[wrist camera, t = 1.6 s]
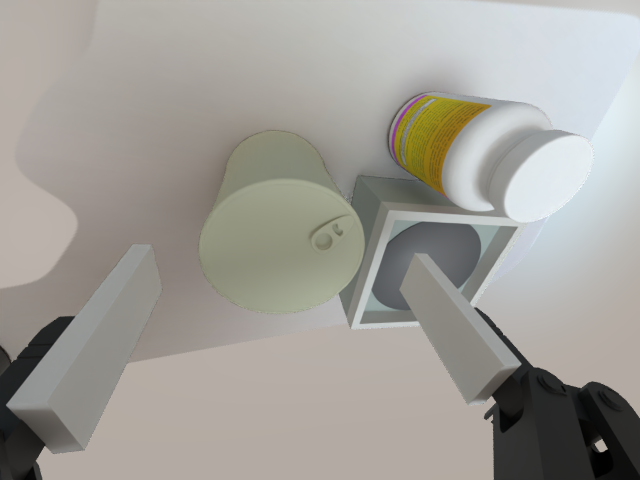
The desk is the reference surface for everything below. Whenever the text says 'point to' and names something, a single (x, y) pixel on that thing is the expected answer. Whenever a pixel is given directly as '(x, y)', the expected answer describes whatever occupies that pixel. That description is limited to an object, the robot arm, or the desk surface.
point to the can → (279, 228)
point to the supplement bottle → (490, 154)
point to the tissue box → (419, 247)
